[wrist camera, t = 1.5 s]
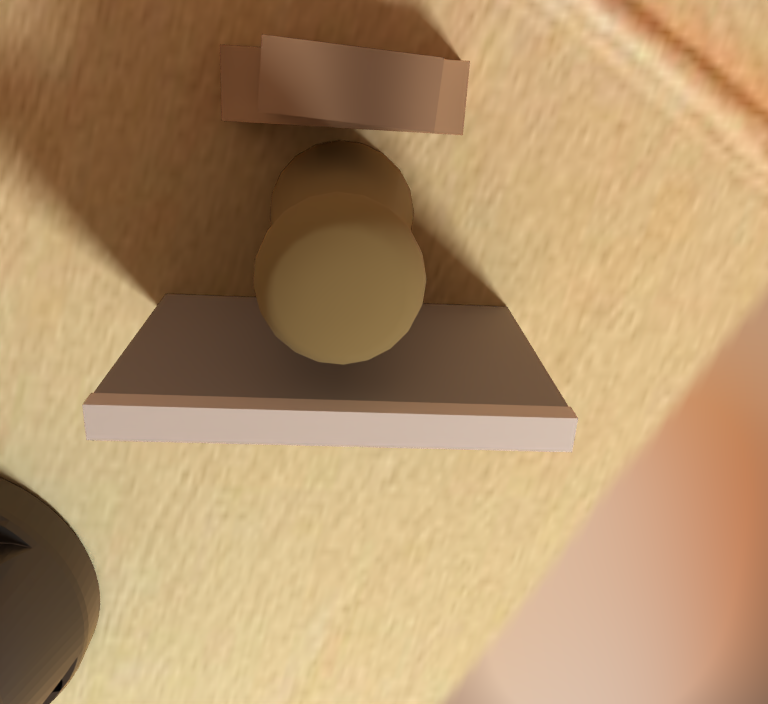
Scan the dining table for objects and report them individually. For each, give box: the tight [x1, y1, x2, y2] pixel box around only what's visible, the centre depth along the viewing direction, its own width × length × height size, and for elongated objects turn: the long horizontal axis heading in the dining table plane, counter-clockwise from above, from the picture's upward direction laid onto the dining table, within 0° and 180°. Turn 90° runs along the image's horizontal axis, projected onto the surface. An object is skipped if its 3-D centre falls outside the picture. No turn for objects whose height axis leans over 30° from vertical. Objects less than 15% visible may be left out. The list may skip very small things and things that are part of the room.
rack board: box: [83, 294, 578, 452], centre depth 27 cm, size 15×1×11 cm, turn 86°
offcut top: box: [258, 34, 444, 133], centre depth 25 cm, size 6×2×2 cm, turn 83°
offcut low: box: [220, 45, 470, 135], centre depth 28 cm, size 9×3×2 cm, turn 86°
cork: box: [253, 140, 427, 365], centre depth 26 cm, size 6×6×11 cm
